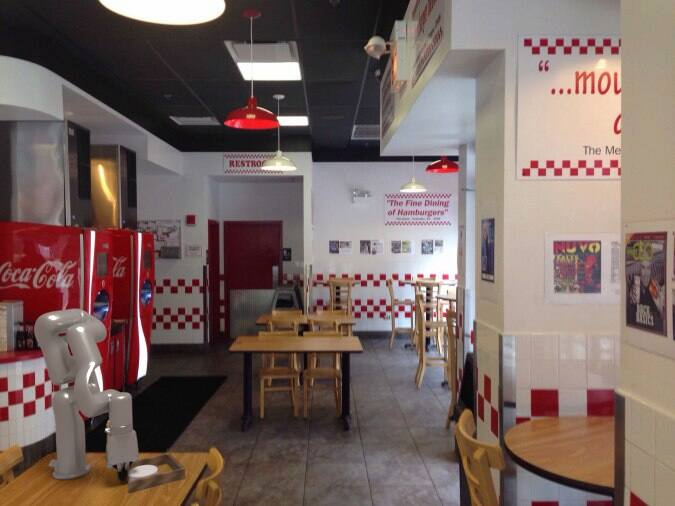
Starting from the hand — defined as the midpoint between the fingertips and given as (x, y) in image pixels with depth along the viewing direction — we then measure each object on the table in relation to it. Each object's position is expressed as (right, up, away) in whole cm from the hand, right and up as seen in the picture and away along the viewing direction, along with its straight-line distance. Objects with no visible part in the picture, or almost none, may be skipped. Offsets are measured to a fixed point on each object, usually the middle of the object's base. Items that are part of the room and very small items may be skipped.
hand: (122, 480), depth 194 cm
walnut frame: (+8, -1, +6) cm, 10 cm away
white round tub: (+6, -1, +3) cm, 7 cm away
